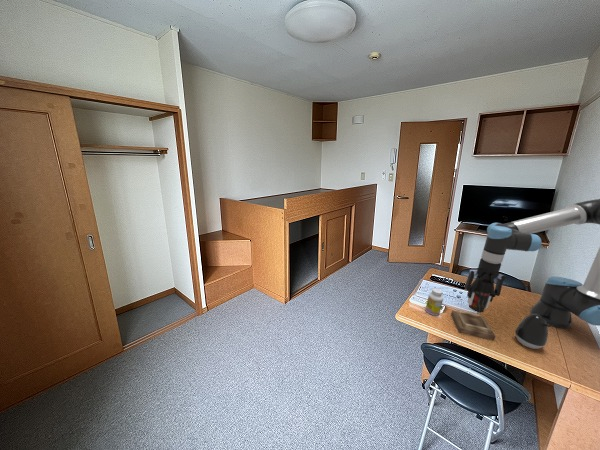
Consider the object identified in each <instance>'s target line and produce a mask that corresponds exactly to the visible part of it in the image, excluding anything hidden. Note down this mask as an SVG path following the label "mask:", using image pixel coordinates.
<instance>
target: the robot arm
mask: <svg viewBox="0 0 600 450" xmlns="http://www.w3.org/2000/svg"><path fill="white" fill-rule="evenodd" d="M573 224H575V225H578V226H579V225H584V224H596V225H599V226H600V198H597V199H595V198H594V199H590V200H586V201H584V200H583V201H582V202H581V201H579V202H577V203H573V204H569V205H567V207H565V208H562V209H558V210H555V211H554V210H553V211H550V212H546V213H542V214H538V215H533V216H530V217H525V218H522V219H518V220H514V221H511V222H507V223H501V222H493V223H491V224H489V225H488V226H487V228H486V232H487V234H486V235H487V236H486V239H485V243H484V246H483V250H482V254H481V258H480V259H479V263H478V266H477V268H476V269H471V268H470V269H469V271H468V272H469V273H468V276H467V278H466V282H465V285H464V288H465V289H466V291H467V298H468V299H467V304H468V306H469V305H471V304H472V301H473V298H474V294H475V293H474V292H473V291H474V290H475V289H476V288H477V286H478V283H479V281H483V280H489V281H490V282H491V283H493V284H492V287H491V290H490V294H489V297H488V300H487V303H486V306H485V309H488V307H489V305H490V303H492V302H493V300H494V298H496V296H497V297H499V296H500V295H501V291H502V287H503V283H504V281H505V280H506V276H505V275H504V274H503V273H500V270H501V266H502V263H503V261H504V258H505V254H506V253H507V250H509V251H510V250H512V251H521V252H536V251H538V250H539V249H540V248H541V247H542V238H541V237H540V236H539V235H537V234H535V233H541V232H544V231H549V230H553V229H556V228H560V227H566V226H569V225H573ZM476 274H477V275H476ZM475 275H476V278H475ZM474 278H475V279H474ZM496 278H497V279H496ZM495 279H496V283H495ZM529 312H530V315H531V314H538V315H541V316H542V317H543V318H544V319H545V320H546V323H547V324H549V325H550V327H551V326H552V327H555V328H560V329H570V328H571V326H572V324H573V319H572V314H573V315H575V316H576V317H578V318H579V319H580V320H582V321H585V322H586V323H587V324H590V325H592V326H598V327H599V326H600V246H599V248H598V250H597V252H596V255H595V257H594V259H593V262H592V264H591V266H590V268H589V271H588V273H587V276H586V278H585V280H584V283H583V284H582V282H580V281H577V280H574V279H571V278H568V277H562V276H550V277H548V279H547V280H546V282H545V284H544V287H543V290H542V293H541V296H540V298H539V300H538V301H537V302H536V303H535V304H534V305H533V306H532V307H531V309H530V311H529Z"/></svg>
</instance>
